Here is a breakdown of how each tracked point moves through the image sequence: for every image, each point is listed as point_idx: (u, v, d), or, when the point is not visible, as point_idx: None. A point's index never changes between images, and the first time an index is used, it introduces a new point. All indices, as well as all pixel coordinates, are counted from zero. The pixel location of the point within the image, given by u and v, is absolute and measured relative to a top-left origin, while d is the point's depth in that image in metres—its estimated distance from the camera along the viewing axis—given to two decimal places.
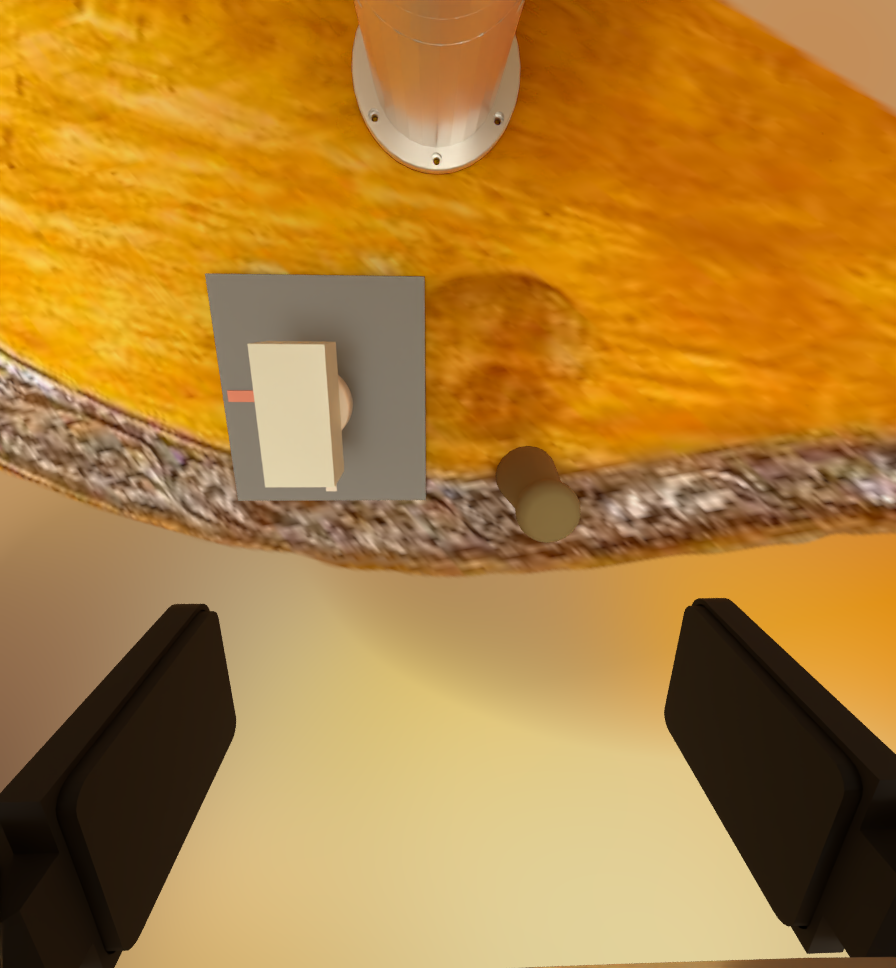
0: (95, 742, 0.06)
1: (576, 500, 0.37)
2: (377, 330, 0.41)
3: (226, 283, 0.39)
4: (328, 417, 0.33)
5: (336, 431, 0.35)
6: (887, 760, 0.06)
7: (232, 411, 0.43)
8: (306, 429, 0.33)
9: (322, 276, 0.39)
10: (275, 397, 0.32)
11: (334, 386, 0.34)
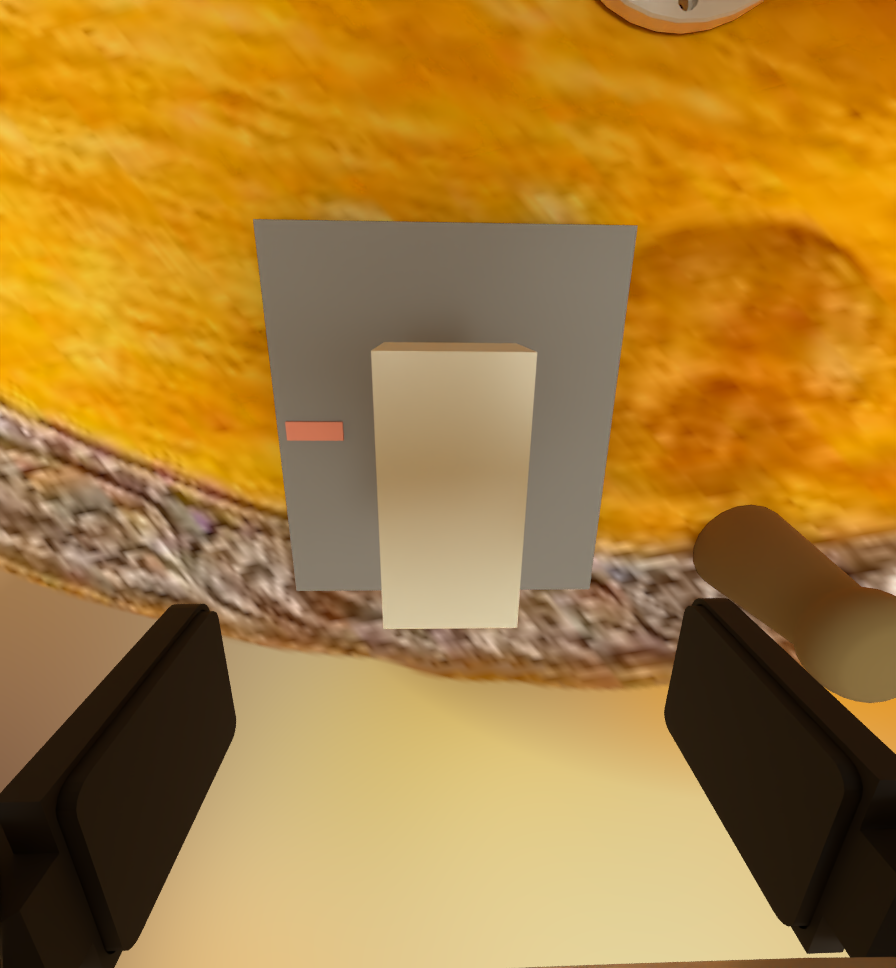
0: (95, 742, 0.06)
1: None
2: (544, 321, 0.24)
3: (290, 237, 0.22)
4: (524, 501, 0.16)
5: None
6: (887, 760, 0.06)
7: (292, 455, 0.26)
8: (476, 524, 0.16)
9: (459, 225, 0.22)
10: (419, 462, 0.15)
11: None
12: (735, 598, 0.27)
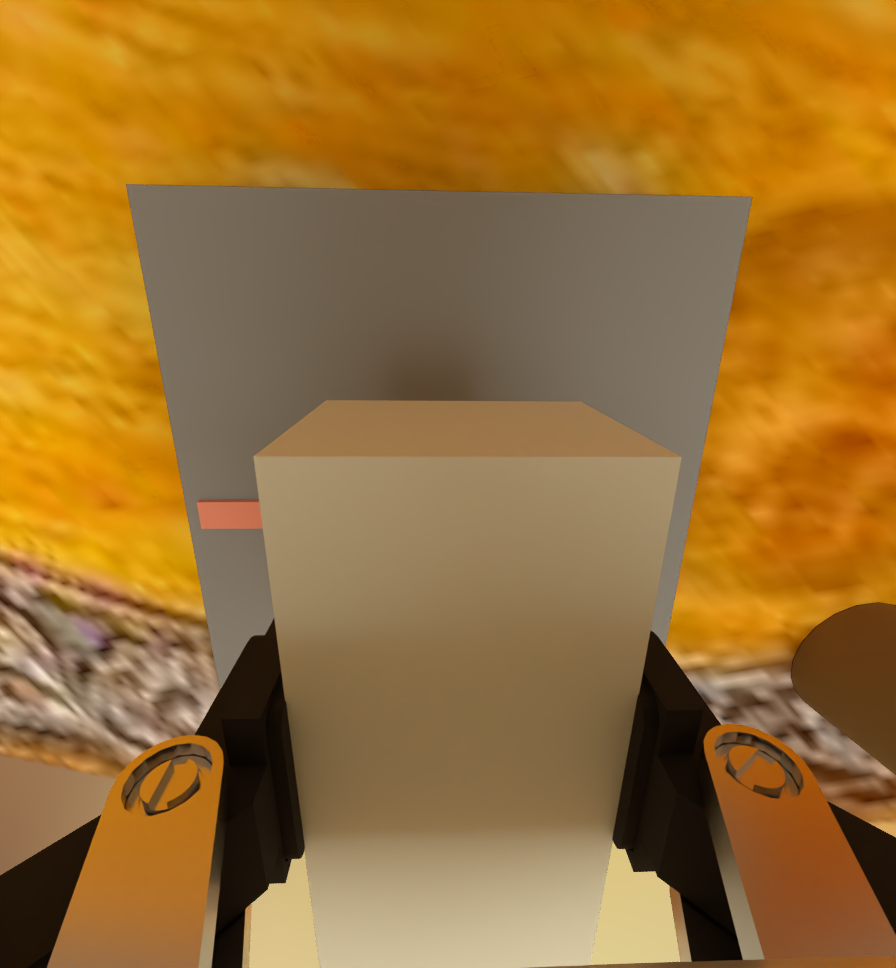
0: (281, 678, 0.07)
1: None
2: (598, 348, 0.15)
3: (189, 214, 0.14)
4: (621, 764, 0.07)
5: None
6: (680, 695, 0.07)
7: (211, 549, 0.17)
8: (515, 808, 0.07)
9: (465, 195, 0.14)
10: (387, 697, 0.07)
11: None
12: (871, 750, 0.19)
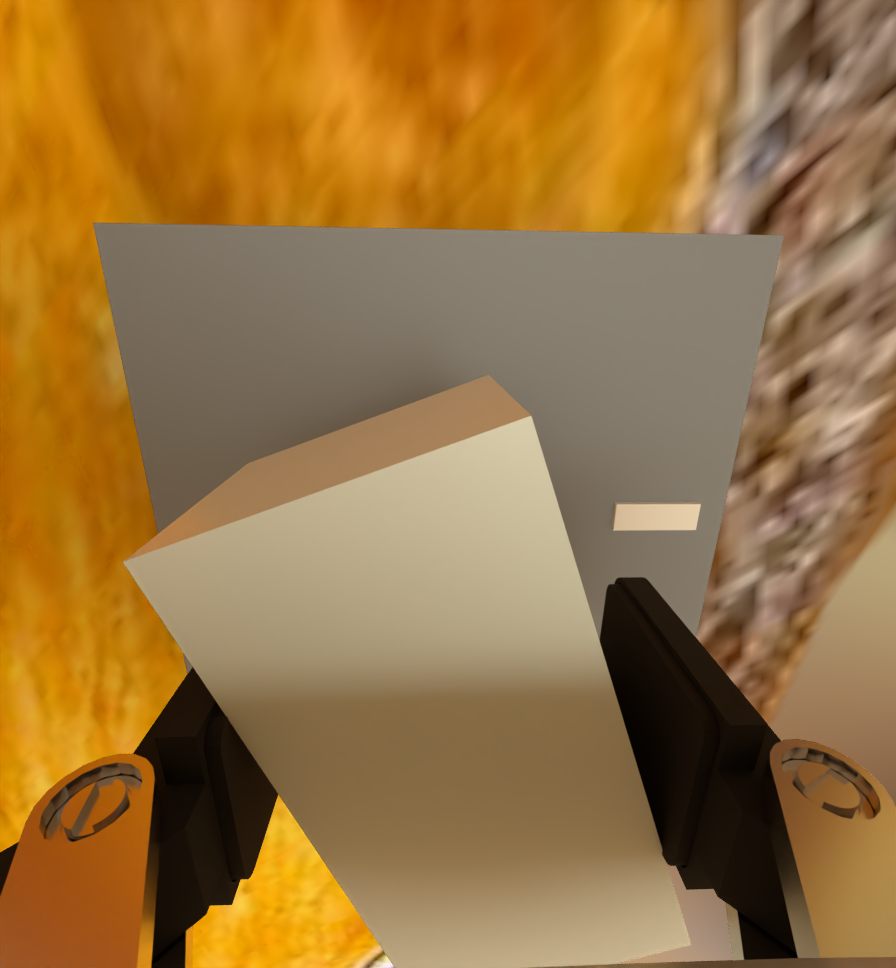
0: None
1: None
2: (265, 371, 0.15)
3: None
4: (623, 738, 0.07)
5: None
6: (741, 709, 0.06)
7: None
8: (533, 808, 0.07)
9: (154, 501, 0.16)
10: (355, 739, 0.07)
11: None
12: None
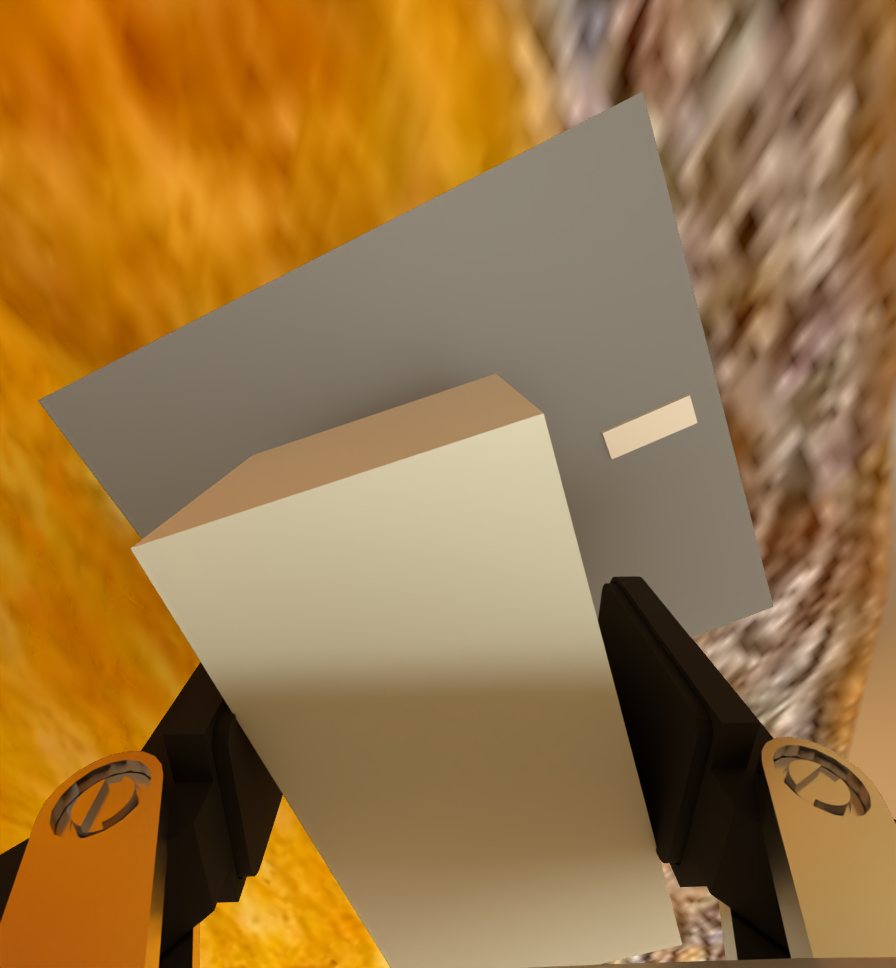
0: None
1: None
2: (227, 457, 0.16)
3: None
4: (622, 737, 0.07)
5: None
6: (734, 707, 0.06)
7: None
8: (530, 805, 0.07)
9: None
10: (356, 731, 0.07)
11: None
12: None
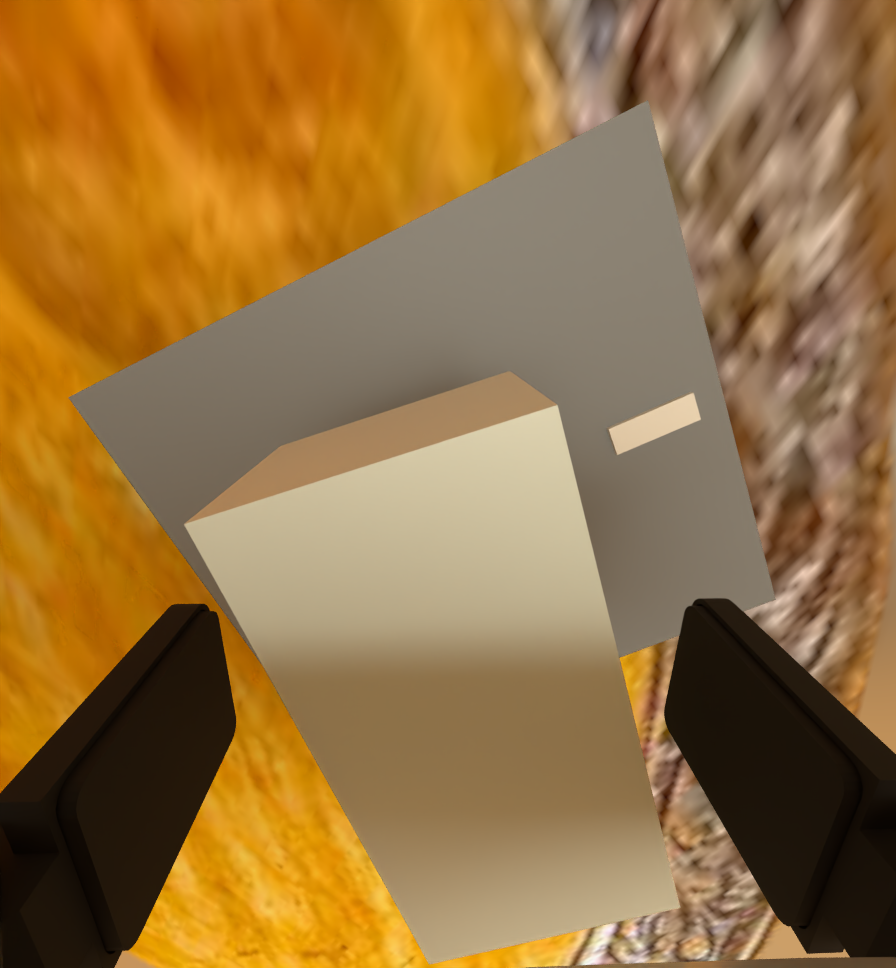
0: (95, 742, 0.06)
1: None
2: (247, 452, 0.16)
3: None
4: (625, 706, 0.07)
5: None
6: (887, 760, 0.06)
7: None
8: (540, 769, 0.08)
9: (215, 596, 0.18)
10: (381, 697, 0.07)
11: None
12: None
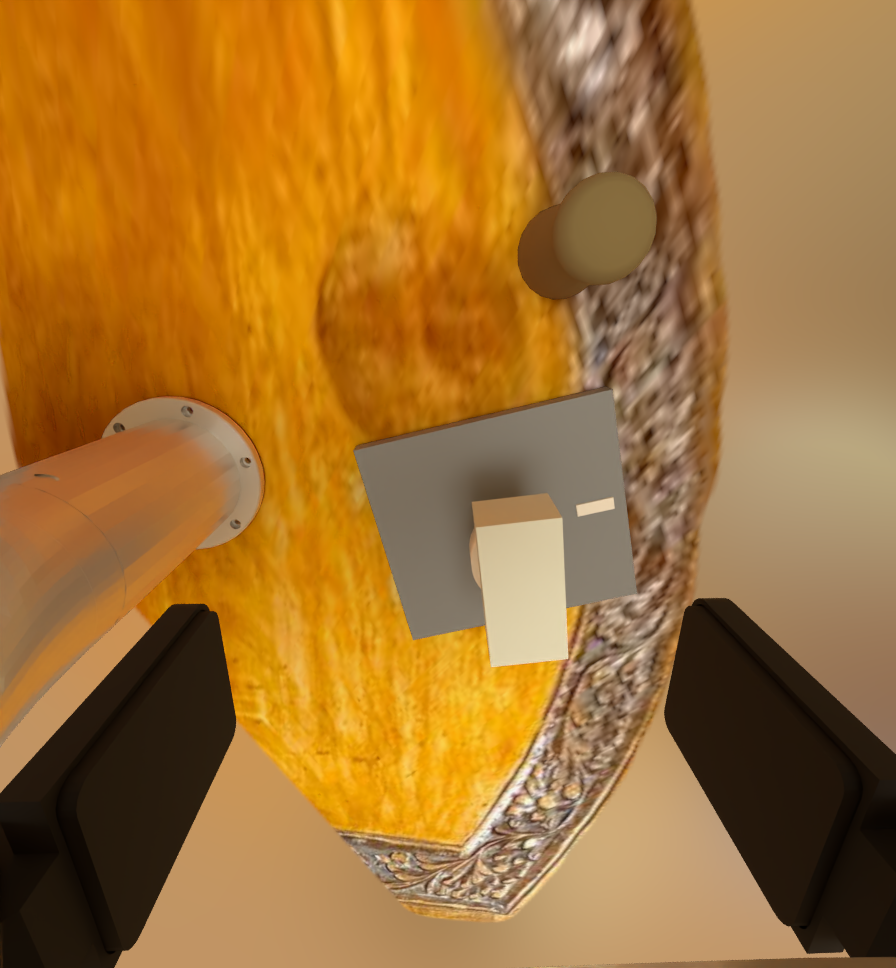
0: (95, 742, 0.06)
1: (577, 190, 0.23)
2: (421, 486, 0.37)
3: (416, 623, 0.42)
4: (564, 590, 0.29)
5: None
6: (887, 760, 0.06)
7: None
8: (539, 605, 0.29)
9: (384, 546, 0.39)
10: (505, 577, 0.28)
11: None
12: None
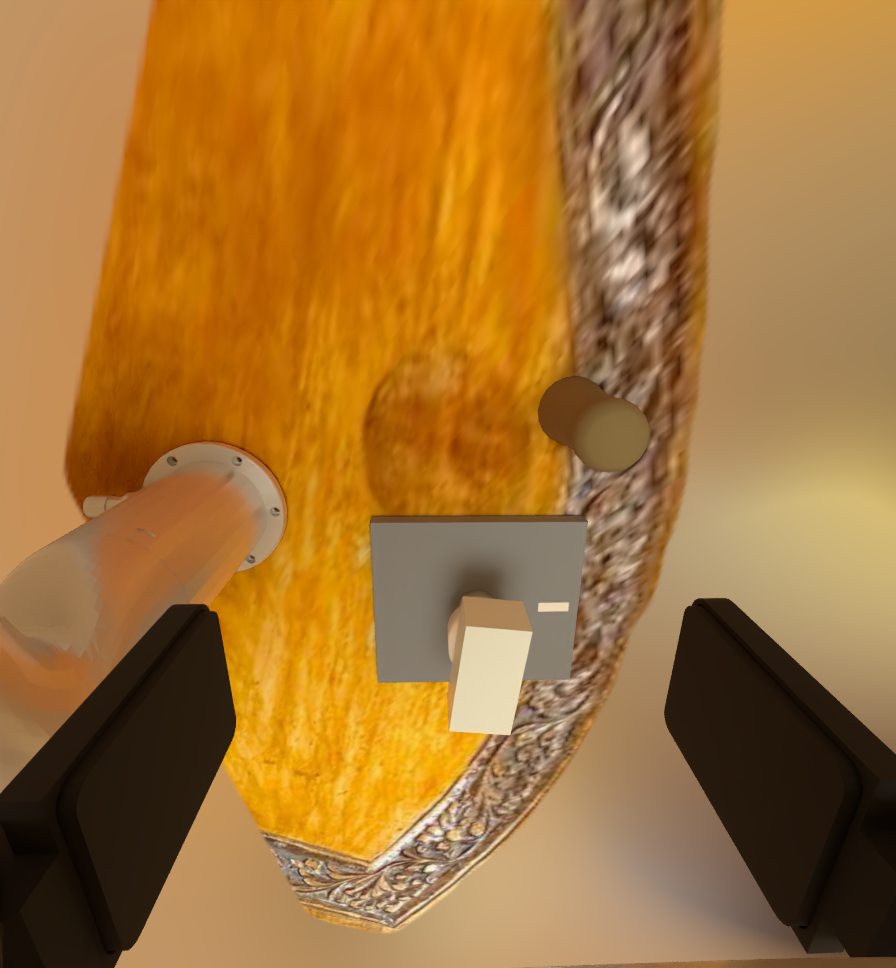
0: (95, 742, 0.06)
1: (599, 410, 0.31)
2: (418, 562, 0.44)
3: (384, 669, 0.48)
4: (520, 684, 0.37)
5: None
6: (887, 760, 0.06)
7: None
8: (498, 691, 0.37)
9: (374, 603, 0.46)
10: (478, 666, 0.36)
11: None
12: None
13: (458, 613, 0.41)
